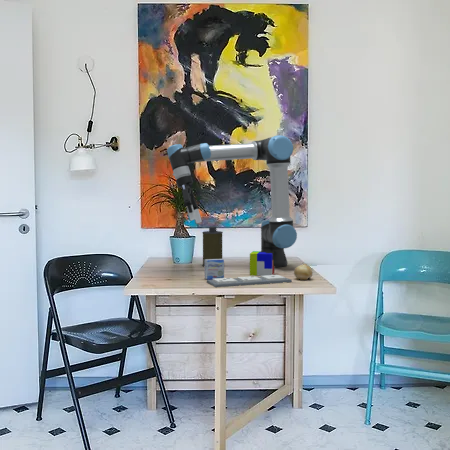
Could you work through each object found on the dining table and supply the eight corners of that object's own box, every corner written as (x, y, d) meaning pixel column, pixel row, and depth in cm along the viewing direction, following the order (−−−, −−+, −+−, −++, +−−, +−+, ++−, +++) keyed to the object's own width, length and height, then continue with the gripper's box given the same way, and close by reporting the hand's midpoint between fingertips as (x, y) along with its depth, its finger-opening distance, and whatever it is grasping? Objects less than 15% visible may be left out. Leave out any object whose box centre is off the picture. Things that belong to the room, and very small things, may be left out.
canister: (221, 267, 283) (220, 227, 282) (200, 266, 285) (200, 227, 283) (224, 264, 294) (224, 226, 292) (204, 263, 295) (204, 225, 294)
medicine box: (206, 280, 245) (206, 260, 245) (204, 278, 249) (204, 259, 249) (224, 279, 247) (224, 259, 247) (221, 277, 252) (221, 258, 251)
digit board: (279, 277, 250) (279, 273, 250) (291, 282, 239) (291, 277, 239) (206, 282, 239) (206, 278, 239) (215, 287, 228) (215, 282, 227)
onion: (315, 280, 243) (315, 264, 243) (297, 281, 241) (297, 265, 241) (308, 277, 251) (308, 261, 250) (291, 278, 249) (291, 262, 249)
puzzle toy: (271, 276, 255) (271, 254, 255) (249, 275, 257) (249, 253, 257) (274, 272, 265) (274, 251, 265) (253, 272, 267) (253, 251, 267)
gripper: (181, 184, 272) (194, 226, 269) (169, 175, 247) (182, 221, 244) (196, 179, 271) (208, 221, 268) (185, 169, 246) (199, 215, 243)
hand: (196, 221), depth 256 cm, fingers open, 13 cm apart
